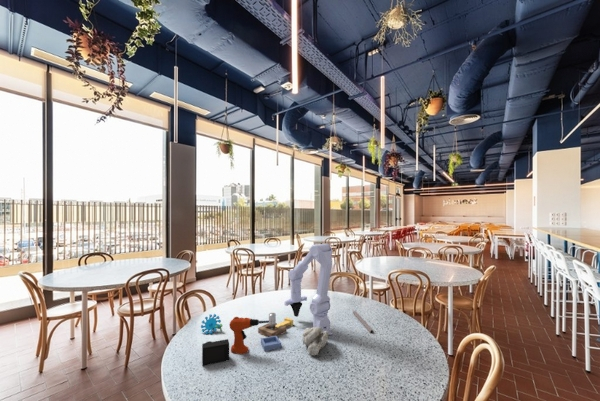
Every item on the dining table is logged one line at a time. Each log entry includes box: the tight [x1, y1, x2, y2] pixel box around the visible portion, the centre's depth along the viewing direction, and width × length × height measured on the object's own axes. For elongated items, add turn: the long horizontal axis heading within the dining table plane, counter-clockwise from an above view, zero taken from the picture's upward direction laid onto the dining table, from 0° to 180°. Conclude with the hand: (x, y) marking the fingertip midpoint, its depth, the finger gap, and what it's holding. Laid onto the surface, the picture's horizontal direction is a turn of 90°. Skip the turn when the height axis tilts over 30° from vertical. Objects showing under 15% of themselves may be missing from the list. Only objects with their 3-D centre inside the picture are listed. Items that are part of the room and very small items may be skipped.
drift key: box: [276, 317, 294, 328], centre depth 140 cm, size 5×10×3 cm, turn 140°
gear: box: [200, 313, 223, 335], centre depth 137 cm, size 11×6×10 cm
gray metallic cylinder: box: [268, 312, 277, 330], centre depth 134 cm, size 3×3×9 cm
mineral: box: [302, 327, 330, 356], centre depth 118 cm, size 12×17×10 cm
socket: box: [257, 322, 290, 337], centre depth 136 cm, size 10×15×2 cm, turn 140°
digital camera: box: [201, 338, 230, 367], centre depth 109 cm, size 10×5×7 cm, turn 111°
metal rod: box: [352, 310, 375, 334], centre depth 145 cm, size 2×27×2 cm, turn 7°
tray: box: [260, 336, 282, 352], centre depth 120 cm, size 8×8×2 cm
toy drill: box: [229, 316, 269, 355], centre depth 115 cm, size 5×19×15 cm, turn 79°
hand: (296, 316), depth 148 cm, fingers closed
